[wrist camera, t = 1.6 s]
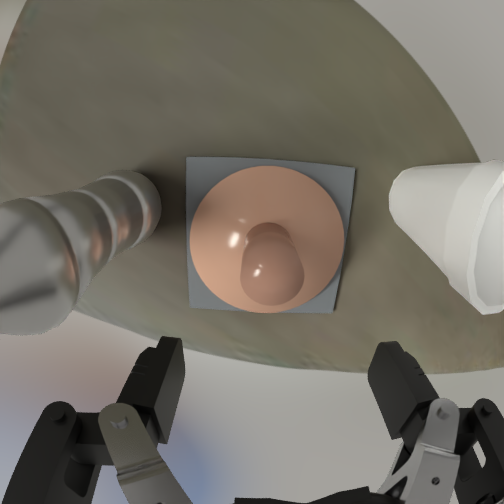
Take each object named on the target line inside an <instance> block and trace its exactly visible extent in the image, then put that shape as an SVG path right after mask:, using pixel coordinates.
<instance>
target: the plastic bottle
mask: <svg viewBox="0 0 504 504" xmlns="http://www.w3.org/2000/svg"><path fill="white" fill-rule="evenodd" d="M161 209H162V206H161V199H160V195H159V193H158V191H157V189H156V187H155V186H154V184H153V183H152V182H151V181H150V180H149V179H148V178H147V177H145V176H144V175H142V174H140V173H137V172H134V171H128V170H116V171H112V172H109V173H107V174H105V175H103V176H101V177H99V178H98V179H96V180H95V181H94V182H92V183H90V184H88V185H85V186H83V187H81V188H79V189H76V190H71V191H68V192H62V193H58V194H54V195H45V196H36V197H27V198H19V199H15V200H11V201H7V202H3V203H1V204H0V334H9V335H34V334H42V333H45V332H47V331H49V330H51V329H53V328H55V327H57V326H59V325H60V324H61V323H62V322H63V321H64V320H65V319H66V318H67V316H68V315H69V314H70V312H71V311H72V310H73V308H74V306H75V305H76V303H77V302H78V300H79V299H80V297H81V296H82V294H83V293H84V291H85V290H86V288H87V287H88V285H89V284H90V282H91V281H92V279H93V278H94V277H95V276H96V275H97V274H98V273H99V272H100V271H101V269H102V268H103V267H104V266H105V265H106V264H107V263H108V262H109V261H110V260H111V259H113V258H114V257H116V256H117V255H119V254H120V253H122V252H123V251H125V250H128V249H131V248H133V247H135V246H137V245H139V244H141V243H143V242H144V241H145V240H147V239H148V238H149V237H150V236H151V234H152V233H153V232H154V230H155V228H156V226H157V224H158V222H159V220H160V216H161Z"/></svg>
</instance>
